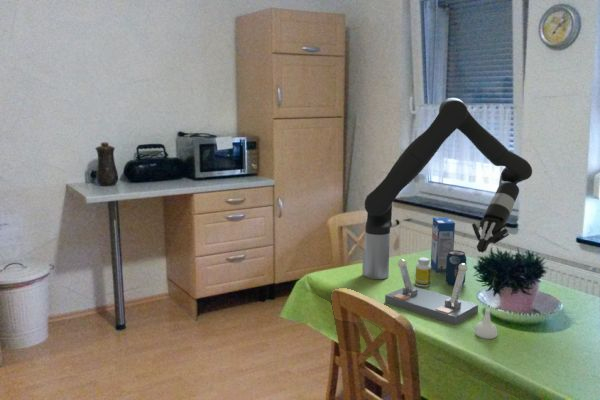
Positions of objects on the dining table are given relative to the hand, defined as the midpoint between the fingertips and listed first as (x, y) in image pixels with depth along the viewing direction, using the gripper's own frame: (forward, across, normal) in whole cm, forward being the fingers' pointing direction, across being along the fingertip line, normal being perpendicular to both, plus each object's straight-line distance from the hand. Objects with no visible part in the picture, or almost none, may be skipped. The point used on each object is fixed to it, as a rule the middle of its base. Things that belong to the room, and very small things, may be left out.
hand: (480, 250), depth 183 cm
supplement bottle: (+12, -22, +13) cm, 28 cm away
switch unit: (+24, -8, +1) cm, 25 cm away
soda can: (+5, -14, +20) cm, 25 cm away
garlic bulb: (+29, +15, -4) cm, 33 cm away
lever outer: (+22, 0, -1) cm, 22 cm away
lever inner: (+22, -16, -1) cm, 27 cm away
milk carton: (-3, -27, +28) cm, 39 cm away
